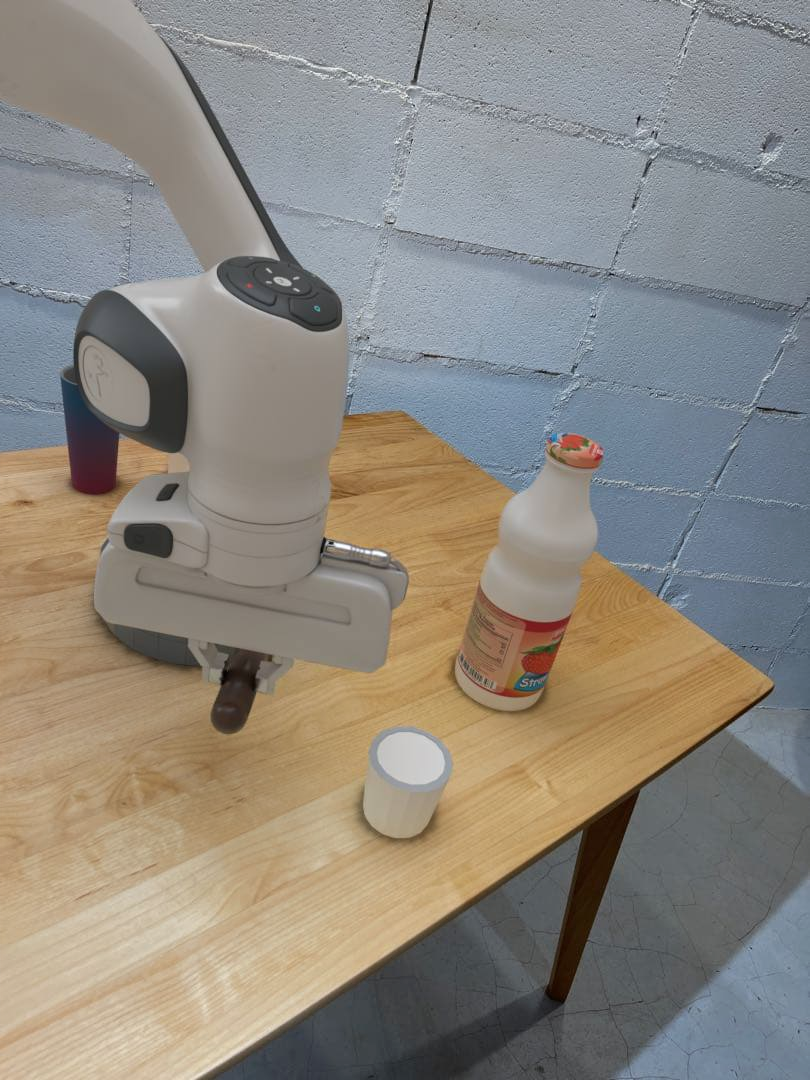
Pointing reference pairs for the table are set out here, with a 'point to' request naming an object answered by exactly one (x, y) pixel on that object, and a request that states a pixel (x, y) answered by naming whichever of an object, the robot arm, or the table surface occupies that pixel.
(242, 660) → the brown bar
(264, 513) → the robot arm
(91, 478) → the cup
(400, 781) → the shot glass
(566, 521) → the fruit juice
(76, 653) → the table surface
